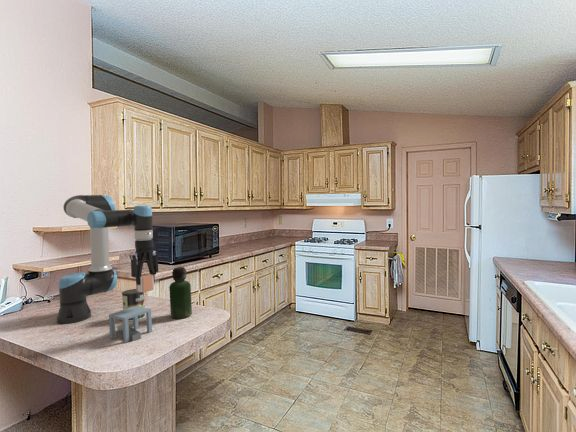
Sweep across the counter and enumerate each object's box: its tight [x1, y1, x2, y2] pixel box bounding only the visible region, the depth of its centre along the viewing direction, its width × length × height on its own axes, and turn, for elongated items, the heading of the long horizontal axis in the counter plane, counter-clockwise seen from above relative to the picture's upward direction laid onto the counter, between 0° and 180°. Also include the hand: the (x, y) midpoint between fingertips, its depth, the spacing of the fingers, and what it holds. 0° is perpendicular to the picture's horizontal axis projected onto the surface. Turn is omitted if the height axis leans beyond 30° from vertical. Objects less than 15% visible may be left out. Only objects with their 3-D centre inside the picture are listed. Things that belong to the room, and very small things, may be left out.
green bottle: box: [168, 266, 193, 320], centre depth 168 cm, size 10×10×25 cm
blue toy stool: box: [108, 306, 153, 343], centre depth 145 cm, size 11×13×10 cm
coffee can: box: [121, 288, 146, 323], centre depth 167 cm, size 10×10×14 cm
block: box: [135, 273, 154, 294], centre depth 149 cm, size 5×5×7 cm
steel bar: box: [116, 323, 142, 342], centre depth 145 cm, size 18×4×3 cm, turn 46°
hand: (145, 289), depth 149 cm, fingers closed on block, 5 cm apart
